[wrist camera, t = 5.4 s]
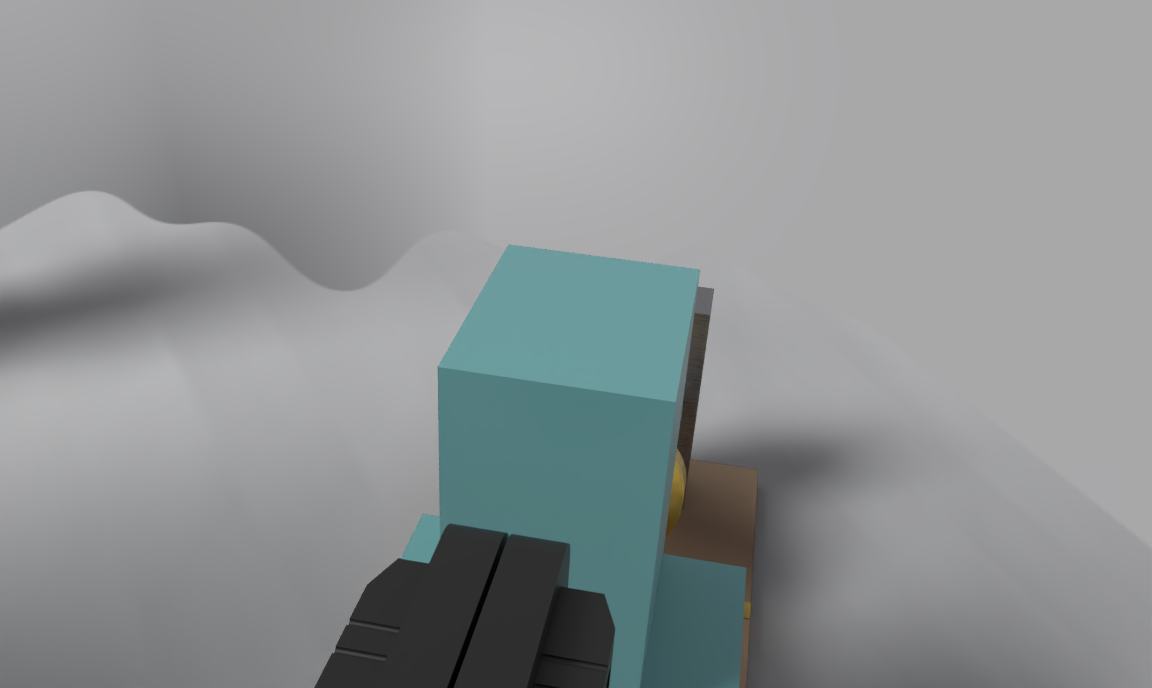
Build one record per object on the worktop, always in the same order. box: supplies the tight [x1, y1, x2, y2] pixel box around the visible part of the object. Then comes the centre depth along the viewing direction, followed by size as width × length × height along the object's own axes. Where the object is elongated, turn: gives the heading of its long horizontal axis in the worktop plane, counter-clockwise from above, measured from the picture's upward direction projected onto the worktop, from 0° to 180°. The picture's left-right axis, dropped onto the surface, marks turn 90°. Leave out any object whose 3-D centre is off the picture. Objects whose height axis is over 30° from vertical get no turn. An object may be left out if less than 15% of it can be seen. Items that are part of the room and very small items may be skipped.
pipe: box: [666, 287, 714, 535], centre depth 24 cm, size 18×4×7 cm, turn 170°
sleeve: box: [401, 245, 746, 688], centre depth 19 cm, size 4×6×12 cm, turn 80°
